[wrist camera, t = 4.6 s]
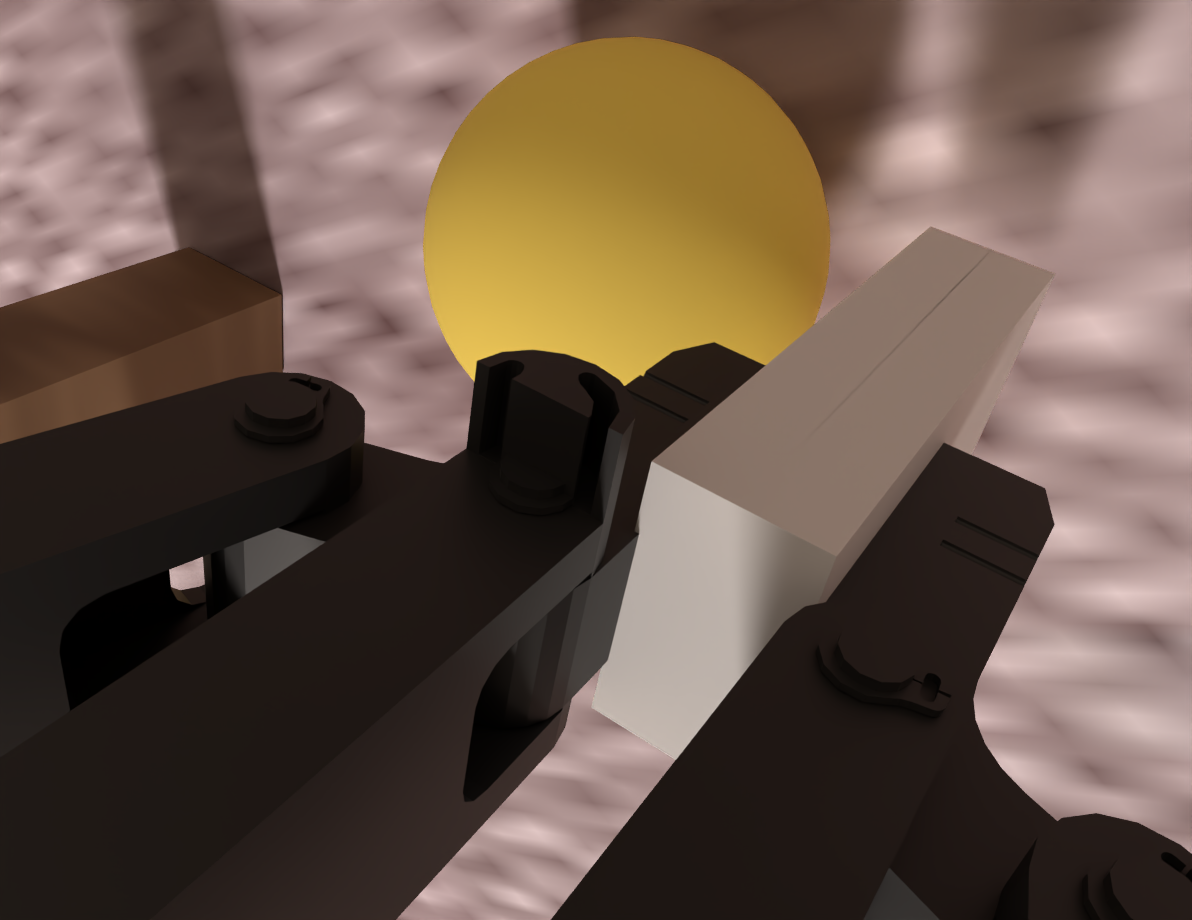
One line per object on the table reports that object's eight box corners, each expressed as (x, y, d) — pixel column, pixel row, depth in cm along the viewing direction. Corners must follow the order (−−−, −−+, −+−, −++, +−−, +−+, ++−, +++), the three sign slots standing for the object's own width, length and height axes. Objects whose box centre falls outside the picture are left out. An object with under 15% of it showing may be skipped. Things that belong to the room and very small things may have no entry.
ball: (514, 103, 10) (424, -51, 14) (431, 537, 13) (377, 309, 17) (982, 167, 12) (785, 16, 16) (813, 532, 15) (684, 329, 19)
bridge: (271, -435, 16) (-507, -640, 10) (282, 372, 25) (-136, 564, 18) (142, -456, 18) (-636, -651, 11) (194, 323, 26) (-231, 486, 19)
